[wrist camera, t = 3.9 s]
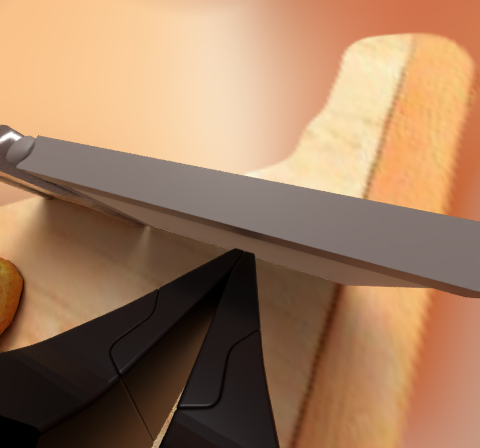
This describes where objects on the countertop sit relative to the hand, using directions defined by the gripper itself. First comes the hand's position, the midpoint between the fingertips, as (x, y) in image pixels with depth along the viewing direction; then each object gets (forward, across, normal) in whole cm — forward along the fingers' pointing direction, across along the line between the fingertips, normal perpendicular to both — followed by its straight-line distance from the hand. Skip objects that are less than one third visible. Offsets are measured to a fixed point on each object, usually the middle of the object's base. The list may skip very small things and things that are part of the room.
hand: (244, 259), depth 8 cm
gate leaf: (+6, +2, +4) cm, 7 cm away
